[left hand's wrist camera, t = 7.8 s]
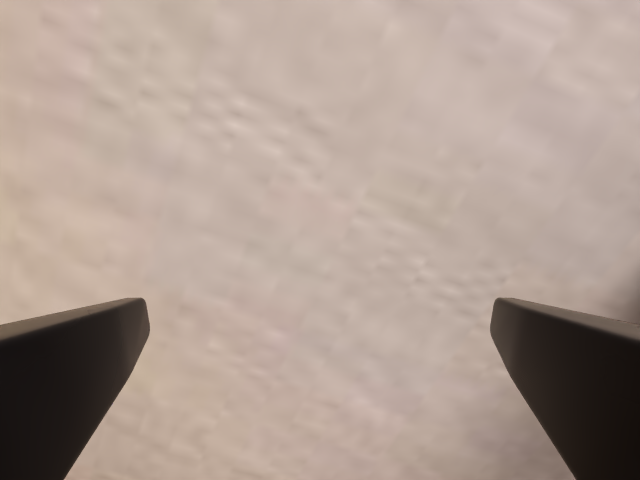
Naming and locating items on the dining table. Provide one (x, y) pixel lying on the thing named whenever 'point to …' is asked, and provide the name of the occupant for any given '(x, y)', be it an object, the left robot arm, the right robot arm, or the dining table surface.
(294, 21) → the dining table surface
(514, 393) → the dining table surface
